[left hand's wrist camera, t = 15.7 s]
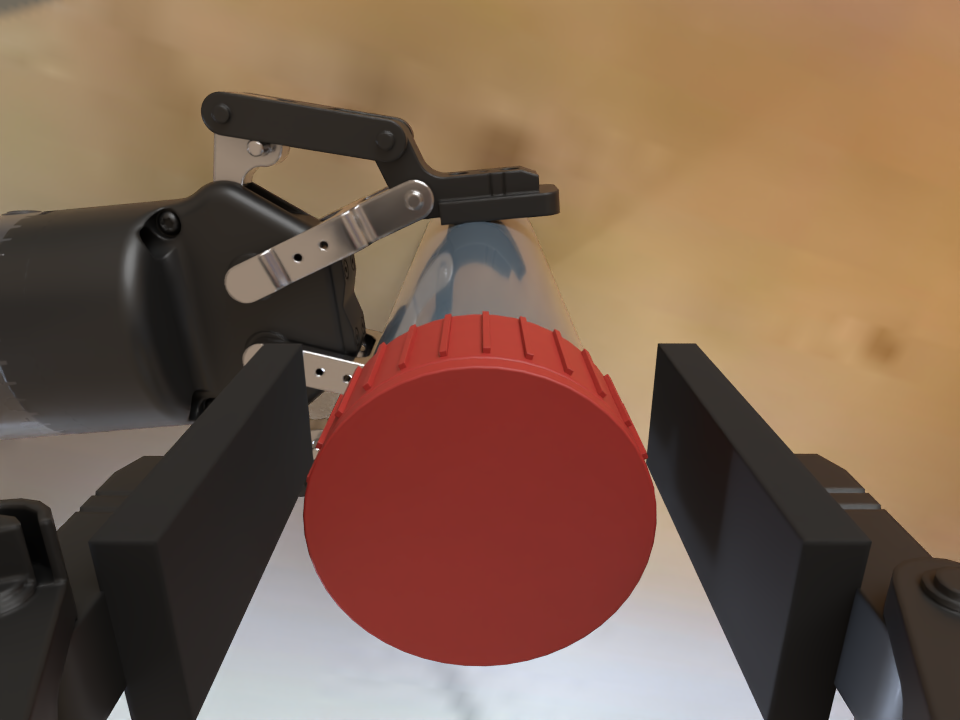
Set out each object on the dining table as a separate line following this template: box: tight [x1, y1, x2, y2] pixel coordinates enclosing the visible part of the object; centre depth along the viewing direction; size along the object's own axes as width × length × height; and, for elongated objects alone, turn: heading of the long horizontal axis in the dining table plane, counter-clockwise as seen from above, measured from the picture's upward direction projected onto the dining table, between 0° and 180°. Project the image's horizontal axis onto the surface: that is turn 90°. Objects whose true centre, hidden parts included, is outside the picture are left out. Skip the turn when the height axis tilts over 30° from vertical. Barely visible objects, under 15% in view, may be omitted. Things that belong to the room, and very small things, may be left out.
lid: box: [303, 311, 656, 666], centre depth 11 cm, size 5×5×2 cm
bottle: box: [373, 218, 584, 356], centre depth 20 cm, size 5×5×19 cm
